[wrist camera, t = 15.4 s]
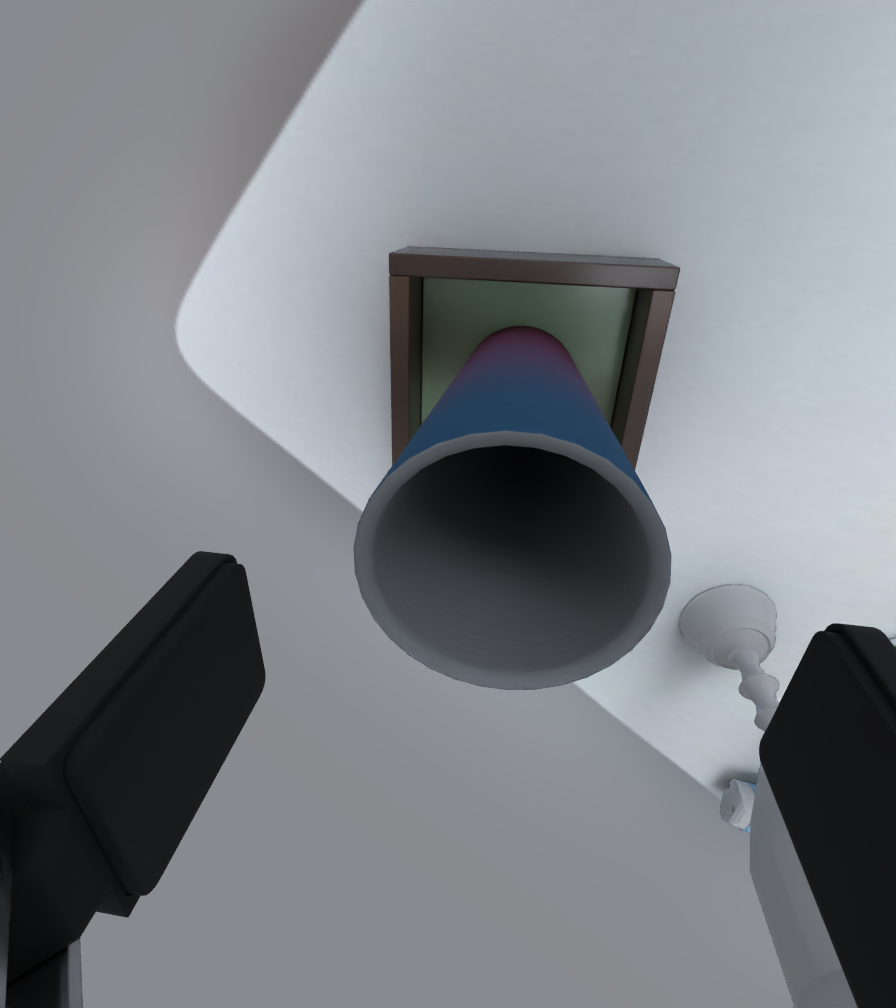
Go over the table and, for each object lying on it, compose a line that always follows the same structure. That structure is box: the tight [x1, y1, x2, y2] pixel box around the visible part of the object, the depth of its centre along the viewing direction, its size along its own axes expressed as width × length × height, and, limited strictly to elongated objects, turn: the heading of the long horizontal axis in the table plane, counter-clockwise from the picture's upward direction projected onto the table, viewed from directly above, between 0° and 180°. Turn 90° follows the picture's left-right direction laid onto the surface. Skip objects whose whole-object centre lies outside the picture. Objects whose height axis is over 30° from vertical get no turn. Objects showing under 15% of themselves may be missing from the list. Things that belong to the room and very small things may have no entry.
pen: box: [720, 779, 756, 833], centre depth 36 cm, size 19×3×3 cm, turn 72°
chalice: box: [679, 585, 858, 1008], centre depth 23 cm, size 7×7×18 cm
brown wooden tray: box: [389, 246, 680, 470], centre depth 24 cm, size 11×11×4 cm
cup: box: [354, 326, 671, 690], centre depth 18 cm, size 7×7×15 cm
